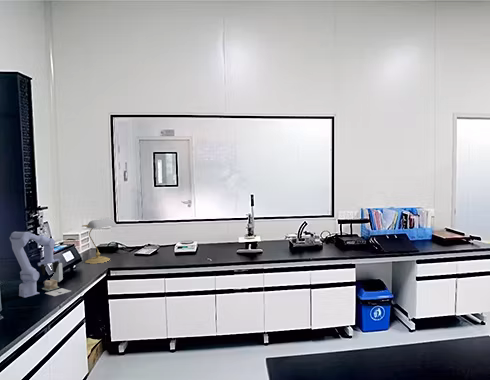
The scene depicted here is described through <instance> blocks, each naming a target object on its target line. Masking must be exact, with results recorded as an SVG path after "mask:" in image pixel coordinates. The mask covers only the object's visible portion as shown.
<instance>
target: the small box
mask: <svg viewBox="0 0 490 380" xmlns="http://www.w3.org/2000/svg"><path fill="white" fill-rule="evenodd" d="M50 264H51V263H50ZM50 267H51V269H52V270H53V264H51V265H50ZM63 274H64V273H63V263H62V262H59V265H58V267H57V269H56V272H54V274H53V276H52V277H51V278H50V279H53V280H57V283H60V282H61V281H62V280H63V279H64V277H63V276H64V275H63Z"/></svg>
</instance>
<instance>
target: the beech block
mask: <svg viewBox="0 0 490 380" xmlns="http://www.w3.org/2000/svg"><path fill="white" fill-rule="evenodd" d="M57 286H58V282H57V280H53V279H50V280H48V279H47V280H44V288H46V289H50V290H49V291H52V290H51V289H53V290H55V289H54V288H56V289H58V288H57Z"/></svg>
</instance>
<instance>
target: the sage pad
mask: <svg viewBox="0 0 490 380" xmlns="http://www.w3.org/2000/svg"><path fill="white" fill-rule="evenodd" d="M41 289H42V290H44V291H46V292H50V291H54V290H57V289H60V286H58V285H57V288H54V289H51V290H50V289H46V288H45V287H41Z"/></svg>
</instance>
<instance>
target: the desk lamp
mask: <svg viewBox="0 0 490 380" xmlns="http://www.w3.org/2000/svg"><path fill="white" fill-rule="evenodd" d="M116 225H117V223H116V222H115V221H114V220H113V219H112V218H109V217H106V218H101V219H94V220H90V221H89V222H88V223H87V224H84V225H83V224H82V227H84V228H85V227H86V229H90V230H89V231H88V237H89V239H90V240H91V242H92V244H93V247H94V248H95V249H96V252H95V256H93V257H91V258H89V259H87V260H86V259H85V261H84V263H85V264H86V263H90V264H89V265H98V264H97V263H101V264H105V263H104V262H106V263H108V262H107V261H109V260H110V259H111V258H109V257H106V256H101V253H100V252H99V249H98V247H97V246H96V243H95V242H94V240H93V239H92V236H91V232H92V230H93V229H102V228H106V227H112V226H116ZM110 261H111V260H110ZM110 261H109V262H110Z"/></svg>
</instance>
